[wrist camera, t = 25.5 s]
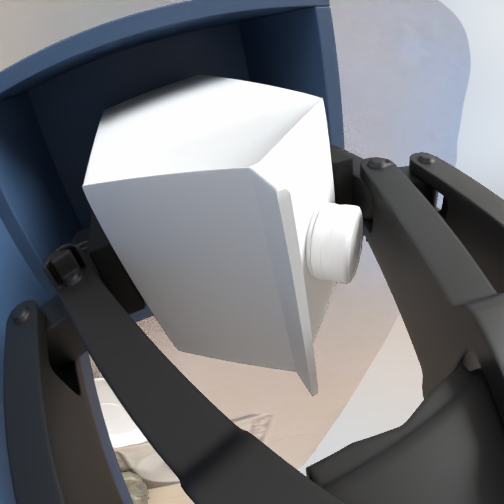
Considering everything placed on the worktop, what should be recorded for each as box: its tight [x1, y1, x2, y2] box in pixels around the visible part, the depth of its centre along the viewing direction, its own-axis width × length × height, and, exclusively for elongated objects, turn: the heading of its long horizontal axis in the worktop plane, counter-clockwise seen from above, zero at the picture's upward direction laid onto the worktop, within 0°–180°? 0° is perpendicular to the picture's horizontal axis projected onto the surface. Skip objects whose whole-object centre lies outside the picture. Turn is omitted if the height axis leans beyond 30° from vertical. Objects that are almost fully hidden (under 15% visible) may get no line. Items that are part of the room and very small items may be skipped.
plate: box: [94, 378, 148, 448], centre depth 40 cm, size 21×21×2 cm
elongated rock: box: [122, 472, 149, 504], centre depth 59 cm, size 35×5×10 cm
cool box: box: [0, 0, 344, 322], centre depth 20 cm, size 19×16×12 cm
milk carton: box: [82, 74, 363, 396], centre depth 14 cm, size 7×7×19 cm
